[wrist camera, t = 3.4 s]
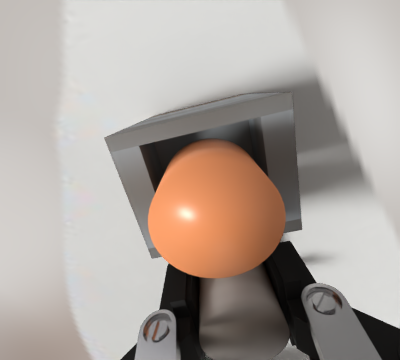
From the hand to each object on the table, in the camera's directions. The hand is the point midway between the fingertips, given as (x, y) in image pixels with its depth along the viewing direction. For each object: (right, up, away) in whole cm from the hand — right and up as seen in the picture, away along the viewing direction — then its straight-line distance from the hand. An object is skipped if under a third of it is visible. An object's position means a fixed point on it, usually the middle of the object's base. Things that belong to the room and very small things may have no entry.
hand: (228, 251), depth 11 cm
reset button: (-1, +4, -3) cm, 5 cm away
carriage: (0, +1, +3) cm, 4 cm away
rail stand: (0, +2, +6) cm, 6 cm away
